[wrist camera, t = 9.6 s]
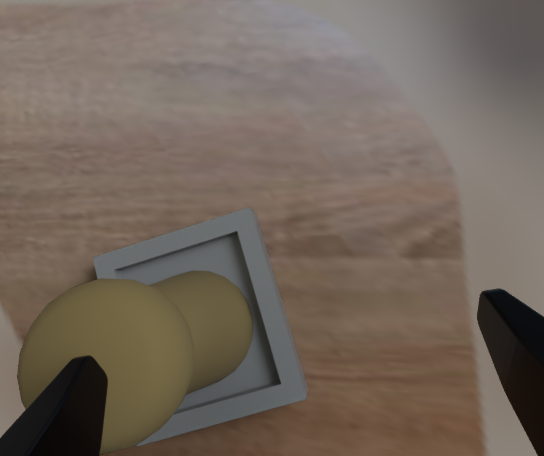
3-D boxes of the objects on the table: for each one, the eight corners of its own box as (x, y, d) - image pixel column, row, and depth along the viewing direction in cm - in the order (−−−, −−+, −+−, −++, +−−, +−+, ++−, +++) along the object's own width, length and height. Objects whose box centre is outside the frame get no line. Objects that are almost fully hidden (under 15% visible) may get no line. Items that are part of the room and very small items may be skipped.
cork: (169, 404, 22) (18, 527, 11) (127, 298, 23) (-49, 317, 12) (272, 356, 22) (220, 436, 11) (225, 251, 23) (135, 227, 12)
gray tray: (308, 388, 22) (306, 399, 20) (152, 432, 23) (136, 446, 21) (255, 213, 24) (249, 207, 22) (110, 259, 25) (92, 257, 23)
